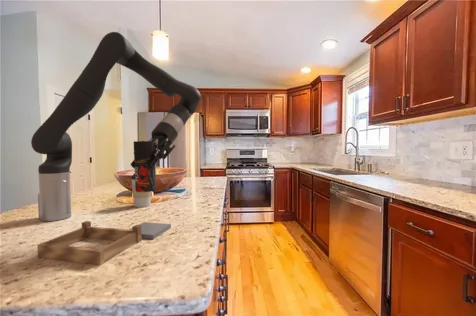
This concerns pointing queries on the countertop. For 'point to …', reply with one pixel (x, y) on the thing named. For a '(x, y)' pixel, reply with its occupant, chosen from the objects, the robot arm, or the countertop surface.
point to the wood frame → (63, 251)
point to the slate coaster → (153, 229)
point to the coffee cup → (140, 196)
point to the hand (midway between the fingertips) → (140, 167)
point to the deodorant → (144, 166)
